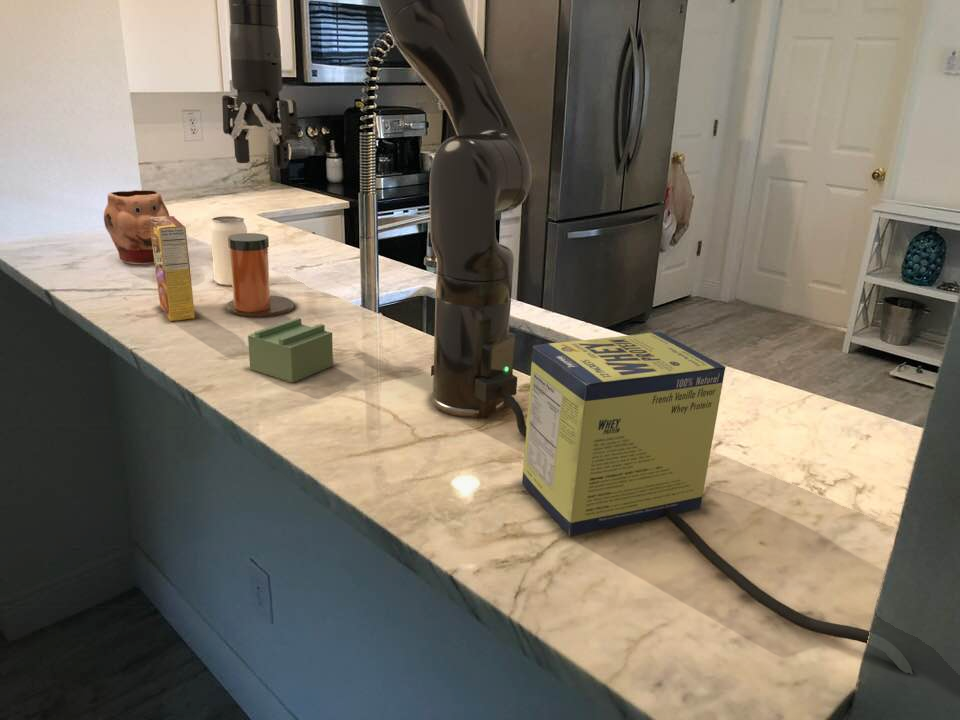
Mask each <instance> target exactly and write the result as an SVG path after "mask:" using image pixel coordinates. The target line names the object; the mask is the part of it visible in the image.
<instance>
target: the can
mask: <svg viewBox="0 0 960 720" xmlns="http://www.w3.org/2000/svg"><path fill="white" fill-rule="evenodd" d="M244 220H245V218H244V217H241V216H234V215H222V216H215V217H213V218H211V221H212V222H211V224H210V243H211V254H212V267H213V269H212V270H213V279H214V282H215V284H217V285H220V286H226V287H229V286H230V287H233V286H232V272H231V257H230V248H229V247H228V236H230V235H234V234H240V233H248V227H247V225H246V223H245V221H244Z"/></svg>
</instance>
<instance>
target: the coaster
mask: <svg viewBox="0 0 960 720" xmlns="http://www.w3.org/2000/svg"><path fill="white" fill-rule="evenodd" d="M270 301H271V307H270V308H269V309H267V310H264V311H260V312H241V311H237V310H235V309H234V300H233V299H232V300H230V301H228V302H227V304H226V309H227V311H228V313H229V312H230V313H231V314H233V315H237V316H242V317H249V318H265V317H274V316H279V315H283V314H287V313H289V312H291V311H292V310H293V309H294V302H293V300H291V299H290V298H287V297H285V296H279V295H274V294H273V295H272V294H270Z"/></svg>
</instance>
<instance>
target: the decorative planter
mask: <svg viewBox="0 0 960 720" xmlns="http://www.w3.org/2000/svg"><path fill="white" fill-rule="evenodd" d="M163 216H170V213H169V210H168V208H167V207H166V204H165V203H164V200H163V199H162V196H161V193H160V192H157V191H155V190H149V189H141V190H140V189H138V190H137V189H135V190H119V191H113V192H109V193H108V194H107V204H106V206H105V208H104V212H103V222H104V226H105V229H106V231H107V232H108V234H109V237H110V238H111V241H112V242H113V244H114V246H115V248H116V250H117V252H118V256H119V259H120V261H122V262H124V263H126V264H131V265H148V264H155V262H154V254H153V247H152V239H151V232H150V224H149V218H151V217H163Z"/></svg>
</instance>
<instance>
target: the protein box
mask: <svg viewBox="0 0 960 720" xmlns="http://www.w3.org/2000/svg"><path fill="white" fill-rule="evenodd" d="M531 356H532V357H531V368H530V379H529V393H528V401H527V402H528V403H527V416H526V427H527V429H526V438H525V441H524V443H525V444H524V455H523V467H522V479H521V484H522V486H523V487H524V488H525V489H526V490H527V491H528V492H529V493H530V495H531V496H532V497H533V498H534V499H535V500H536V501H537V502H538V504H539V505H540V506H541V507H542V508H543V509H544V510H545V511H546V512H547V514H548V515H549V516H551V518H552V519H553V520H554V522H556V523H557V524H558V525H559V527H561V529H562V530H563V531H564V532H565V533H566V534H567V536H568V537H572V536H577V535H582V534H587V533H591V532H596V531H603V530H606V529H611V528H616V527H621V526H624V525H629V524H634V523H640V522H644V521H650V520H655V519H658V518H659V519H660V518H664V517H666V516H665V515H664V510H665V509H666V508H668V507H671V508H672V509H673V510H674V511H675V512H676V513H677V514H678V515H679V514H683V513H688V512H692V511H698V510H700V509H701V508H702V501H703V496H704V492H705V491H704V490H705V484H706V479H707V473H708V467H709V461H710V455H711V451H712V445H713V439H714V433H715V430H716V429H715V428H716V424H717V417H718V412H719V405H720V400H721V394H722V390H723V383H724V377H725V373H726V372H725V371H726V366H725V365H723V364H722V363H719V362H717V361H716V360H715V359H712V358H710V357H708V356H706V355H705V354H702V353H701V352H699V351H697V350H695V349H693V348H691V347H689V346H688V345H685V344H684V343H682V342H680V341H678V340H676V339H674V338H672V337H671V336H668V335H667V334H665V333H663V332H662V331H655V332H654V331H653V332H646V333H639V334H630V335H621V336H612V337H611V336H610V337H601V338H594V339H593V338H592V339H584V340H582V339H581V340H571V341H562V342H551V343H543V344H537V345H533V346H532V355H531Z"/></svg>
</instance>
